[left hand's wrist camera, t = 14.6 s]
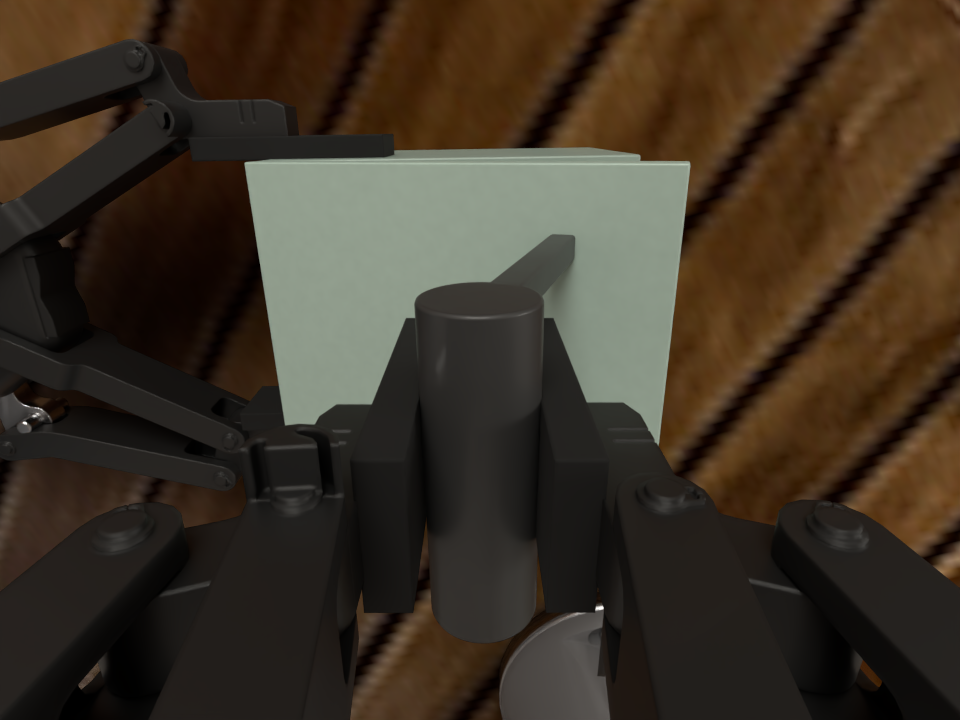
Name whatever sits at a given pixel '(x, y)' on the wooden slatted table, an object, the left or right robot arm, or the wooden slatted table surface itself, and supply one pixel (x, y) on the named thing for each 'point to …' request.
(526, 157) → the chest
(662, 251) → the lid
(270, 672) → the left robot arm
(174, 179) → the wooden slatted table surface
